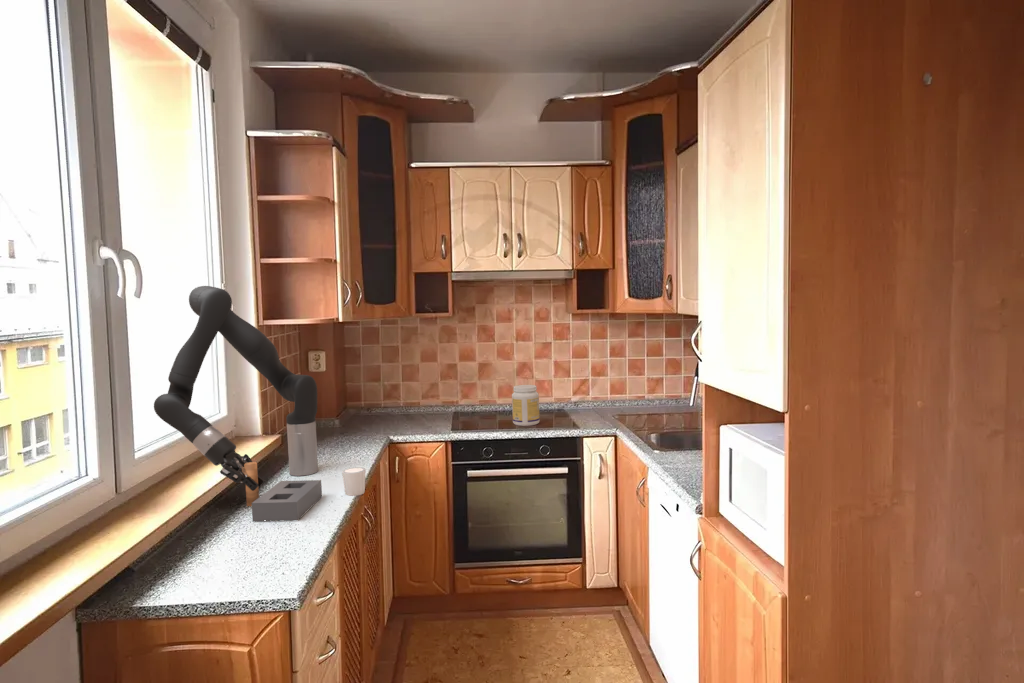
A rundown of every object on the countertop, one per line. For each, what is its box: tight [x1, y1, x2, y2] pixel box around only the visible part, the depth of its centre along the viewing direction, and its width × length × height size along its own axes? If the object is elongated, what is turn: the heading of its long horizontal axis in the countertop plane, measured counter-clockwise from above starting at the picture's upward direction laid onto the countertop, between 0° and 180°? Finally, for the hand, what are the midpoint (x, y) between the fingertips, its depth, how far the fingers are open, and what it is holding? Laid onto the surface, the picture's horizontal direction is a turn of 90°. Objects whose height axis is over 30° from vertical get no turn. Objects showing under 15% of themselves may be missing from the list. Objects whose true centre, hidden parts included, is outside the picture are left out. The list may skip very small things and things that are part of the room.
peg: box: [244, 461, 260, 508], centre depth 182 cm, size 3×3×12 cm
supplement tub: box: [511, 384, 540, 427], centre depth 285 cm, size 12×12×17 cm
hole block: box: [251, 479, 323, 522], centre depth 178 cm, size 20×12×5 cm, turn 179°
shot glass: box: [341, 466, 367, 497], centre depth 190 cm, size 7×7×7 cm
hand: (258, 486), depth 182 cm, fingers closed on peg, 3 cm apart
